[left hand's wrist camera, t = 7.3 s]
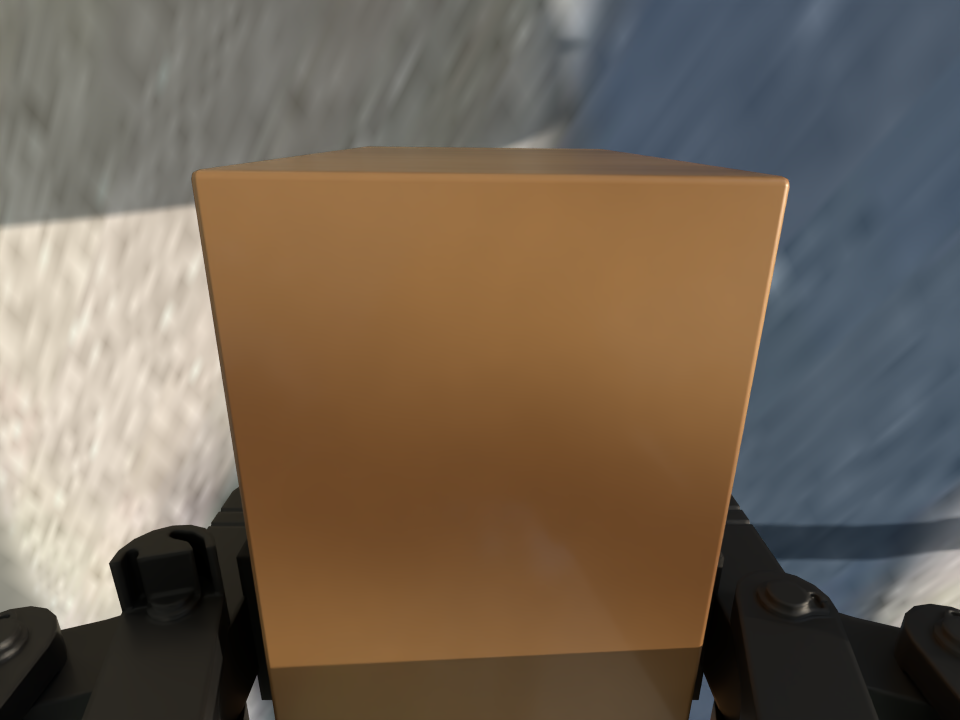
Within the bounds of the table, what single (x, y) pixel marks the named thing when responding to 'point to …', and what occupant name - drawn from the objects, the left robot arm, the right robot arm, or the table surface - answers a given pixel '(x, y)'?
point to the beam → (486, 420)
